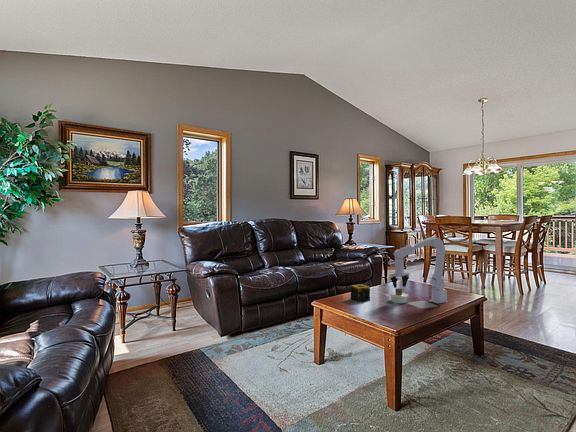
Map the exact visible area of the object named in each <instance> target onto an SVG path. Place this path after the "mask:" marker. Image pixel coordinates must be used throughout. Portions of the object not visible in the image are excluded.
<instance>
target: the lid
mask: <svg viewBox="0 0 576 432" xmlns="http://www.w3.org/2000/svg"><path fill="white" fill-rule="evenodd" d="M394 289H395V292H391V293H389V296H390V297H391V296H392V297H396V298H406V299H407V298H408V297H409V294H407V293H403V288H400V287H398V288H394Z"/></svg>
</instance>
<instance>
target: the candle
mask: <svg viewBox="0 0 576 432" xmlns="http://www.w3.org/2000/svg"><path fill="white" fill-rule="evenodd" d="M350 300H351V301H354V302H356V301H357V303H364V302H365V303H366V302H370V301H371V287H370V286H369V285H365V284H363V283H361V284H352V285H351V284H350Z"/></svg>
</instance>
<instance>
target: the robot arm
mask: <svg viewBox="0 0 576 432" xmlns="http://www.w3.org/2000/svg"><path fill="white" fill-rule="evenodd" d="M425 246H429V247H432V248H433V249H434V250H435V251H436V256H435V263H434V272H433V274H432V276H431V278H430V281H429V283H430V286H431V299H429V300H428V301H429V302H432V303H435V304H443V303H448V302H449V301H448V291H447V289H445V285H446V283H445V279H444V276H443V274H444V267H445V259H446V251H447V249H446V246H445V244H444V240H442V239H441V238H439V237H434V236H430V237H428V238H427V237H426V238H424V239H423V240H421V241H419V242H417V243H415V244H406V245H405V246H404V247H399V249H395V250H394V252H393V256H394V273H390V274H389V278H390V281H391V283H392V286H393V288H394V289H396V288H397V286H398V284H397V283H398V278H399V277H401V280H402V282H401V283H402V287H404V288H406V286H407V284H408V280H409V279H410V277H409V276H410V273H409V272H405V266H404V263H405V262H404V259H405V257H406V256H409V255H411V254H413V253H414V252H415V250H417V249H419V248H420V249H421V248H422V247H425Z"/></svg>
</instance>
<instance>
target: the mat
mask: <svg viewBox="0 0 576 432" xmlns="http://www.w3.org/2000/svg"><path fill="white" fill-rule="evenodd" d="M406 304H408V305H410V306H413V307H416V308H418V309H429V308H435V307H438V305H436V304H434V303H430V302H428V301H425V300H417V301H412V302H411V301H410V302H406Z"/></svg>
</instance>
